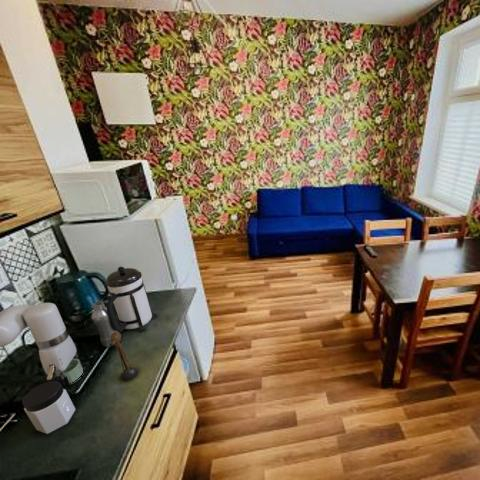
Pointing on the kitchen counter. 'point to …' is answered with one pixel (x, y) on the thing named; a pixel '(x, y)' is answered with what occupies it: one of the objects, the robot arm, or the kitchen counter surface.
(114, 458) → the kitchen counter surface
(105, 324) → the plastic bottle
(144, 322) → the coffee press
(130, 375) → the wooden tabletop sculpture
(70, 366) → the green cup
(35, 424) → the jar
